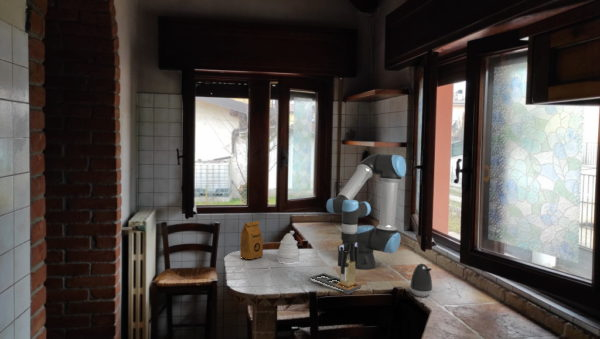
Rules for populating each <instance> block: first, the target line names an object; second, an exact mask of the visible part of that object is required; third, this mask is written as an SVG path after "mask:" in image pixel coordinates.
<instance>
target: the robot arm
mask: <svg viewBox="0 0 600 339" xmlns="http://www.w3.org/2000/svg"><path fill="white" fill-rule="evenodd" d="M406 173H407V163H406V160H405V158H404V157H403V156H402V155H397V154H385V153H374V154H371V155H369V156H367V157H366V158H364V159H363V160H361V162H360V163H359V164H358V165H357V167H356V170H355V172H354V173H353V175H352V176H351V177H350V178H349V180H348V181H347V183H346V184H345V185H344V187H343V188H342V189H341V191H340V192H339V193H338V195H337V196H336V197H335V198H329V199H327V201H326V206H325V207H326V211H327V212H328V213H331V214H335V215H341V217H342V218H341V234H340V235H341V236H340V238H341V239H340V240H341V242H342V243H341V245H340V246H339V245H337V251H338V252H337V253H338V255H337V266H338V267H339V268H340V269H341V280H344V281H346V271H347V268H346V262H347V259H348V256H349V260H351V261H355V269H358V270H372V269H375V268H376V266H377V262H376V259H375V255H374V251H378V252H382V253H387V254H394V253H396V252H397V251H398V249H399V247H400V244H401V242H402V241H401V234H400V233H399V232H398V228H397V227H396V215H397V203H398V188H399V183H400V182H401V181H402V178H403V177H405V175H406ZM374 175H375V176H376V175H378V176H379V179H380V180H381V182H382V183H381V193H380V194H381V195H380V207H379V208H380V209H379V221H378V222H379V223H378V225H377V226H376V227H375V226H374V225H371V224H366V225H365V224H364V225H358V220H359V218H364V217H366V216H368V215H369V214H370V213H371V210H372V208H371V204H370V203H369V202H367V201H365V200H364V201H358V200H355V199H354V198H355V197H356V196H357V194H358V193H359V191H360V190H361V189H362V187H363V186H364V185H365V183H366V181H368V179H371V178H372V177H373V176H374Z"/></svg>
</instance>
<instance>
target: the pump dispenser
mask: <svg viewBox="0 0 600 339" xmlns="http://www.w3.org/2000/svg"><path fill="white" fill-rule="evenodd" d="M430 271H432V267H428V265H426V264H425V263H419V264H417V265H416V267H415V268H414V270H413V273H412V275H411V279H410V282H409V284H410V285H409V286H410V290H411V292H412V293H413V295H414V296H417V297H422V298H424V297H427V296H429V295H430V294H431V292H432V290H433V280H432V276H431V275H432V274H431V272H430Z"/></svg>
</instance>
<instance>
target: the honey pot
mask: <svg viewBox="0 0 600 339" xmlns="http://www.w3.org/2000/svg"><path fill="white" fill-rule="evenodd" d="M294 234H295V231H294V230H289V233H286V234H285V235H284V236H283V238H282V239H281V240H280V245H279V247H278V250H277V255H276V257H277V258H276V259H277V260H278V261H280V262H285V263H294V262H298V261H299V262H300V252H299V248H298V245H297V244H298V241H297V240H295V237H294V236H293V235H294ZM277 260H276V261H277ZM299 262H298V263H299Z"/></svg>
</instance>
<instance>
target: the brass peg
mask: <svg viewBox="0 0 600 339" xmlns="http://www.w3.org/2000/svg"><path fill="white" fill-rule="evenodd" d="M346 268H347V271H346V281H344V280H341V268H340V270H339V272H340V274H339V278H340V285H341V286H344V287H346V288H350V287H352V286H354V283H356V282H355V279H356V278H355V277H356V268H355V261H351V260H350V259H348V258H347V262H346Z"/></svg>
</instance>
